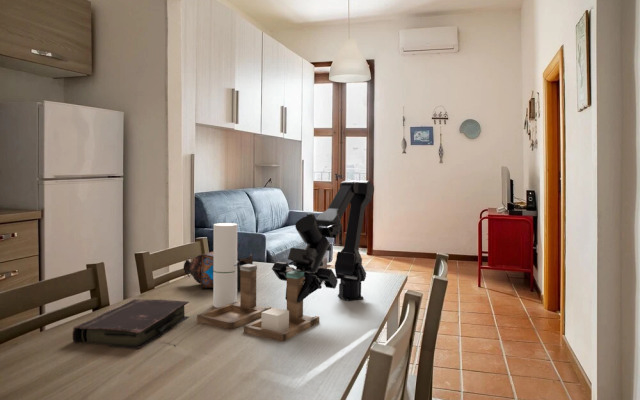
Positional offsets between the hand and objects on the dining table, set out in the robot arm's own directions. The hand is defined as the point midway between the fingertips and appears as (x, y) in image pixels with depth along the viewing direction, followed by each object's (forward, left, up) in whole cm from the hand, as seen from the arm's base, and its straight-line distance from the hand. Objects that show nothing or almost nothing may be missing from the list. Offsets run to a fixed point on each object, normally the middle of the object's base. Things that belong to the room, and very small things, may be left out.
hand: (292, 300), depth 128 cm
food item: (-29, -49, -7) cm, 58 cm away
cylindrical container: (+11, -27, -7) cm, 30 cm away
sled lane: (+4, +2, -7) cm, 8 cm away
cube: (+6, +4, -6) cm, 10 cm away
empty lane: (+12, -11, -7) cm, 18 cm away
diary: (+38, -15, -8) cm, 41 cm away
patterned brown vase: (+7, -51, -7) cm, 52 cm away
